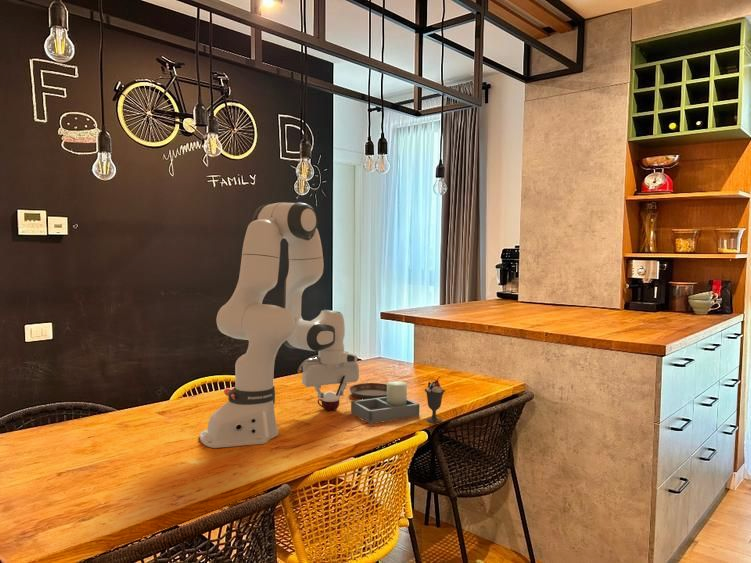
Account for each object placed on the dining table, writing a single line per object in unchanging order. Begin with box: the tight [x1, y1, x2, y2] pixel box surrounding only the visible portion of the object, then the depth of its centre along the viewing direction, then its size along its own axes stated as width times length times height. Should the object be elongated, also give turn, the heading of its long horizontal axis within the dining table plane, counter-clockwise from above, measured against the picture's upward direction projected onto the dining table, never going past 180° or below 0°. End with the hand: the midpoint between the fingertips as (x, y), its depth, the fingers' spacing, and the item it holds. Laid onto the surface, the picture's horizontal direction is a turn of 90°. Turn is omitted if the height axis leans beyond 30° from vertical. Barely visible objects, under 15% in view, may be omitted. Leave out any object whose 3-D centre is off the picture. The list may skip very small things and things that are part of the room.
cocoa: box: [317, 375, 345, 412], centre depth 193 cm, size 10×6×12 cm, turn 56°
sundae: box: [424, 376, 446, 424], centre depth 182 cm, size 7×7×15 cm
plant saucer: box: [348, 382, 387, 400], centre depth 212 cm, size 18×18×3 cm
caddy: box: [350, 380, 420, 425], centre depth 188 cm, size 19×13×10 cm
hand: (330, 396), depth 193 cm, fingers closed on cocoa, 6 cm apart
